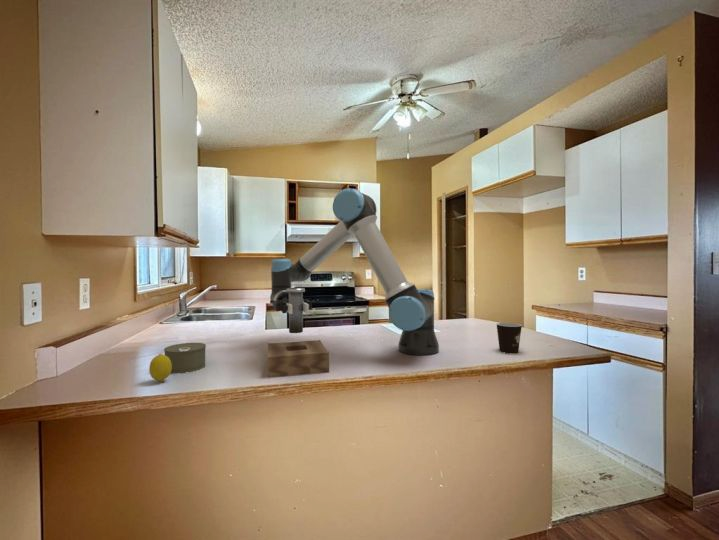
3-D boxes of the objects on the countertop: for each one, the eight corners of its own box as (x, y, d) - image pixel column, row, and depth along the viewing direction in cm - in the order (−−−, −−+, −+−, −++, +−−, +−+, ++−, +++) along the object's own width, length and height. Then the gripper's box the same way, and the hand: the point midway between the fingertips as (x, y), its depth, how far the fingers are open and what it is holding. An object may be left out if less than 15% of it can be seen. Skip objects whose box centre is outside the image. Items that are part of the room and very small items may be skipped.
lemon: (148, 381, 101) (148, 353, 101) (170, 377, 104) (170, 350, 104) (150, 386, 96) (150, 357, 96) (173, 382, 100) (172, 354, 99)
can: (207, 361, 121) (206, 341, 121) (205, 371, 110) (204, 349, 110) (167, 365, 117) (167, 344, 117) (161, 375, 106) (160, 353, 106)
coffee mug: (506, 355, 126) (506, 327, 126) (491, 349, 135) (491, 323, 134) (534, 352, 129) (534, 325, 129) (518, 347, 137) (518, 321, 137)
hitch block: (320, 357, 125) (320, 340, 125) (329, 372, 108) (328, 352, 108) (267, 361, 121) (267, 343, 121) (268, 377, 103) (267, 357, 103)
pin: (307, 330, 116) (307, 288, 116) (300, 334, 111) (300, 289, 110) (291, 329, 118) (291, 287, 117) (283, 333, 112) (283, 289, 112)
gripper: (309, 310, 134) (326, 319, 112) (261, 312, 127) (270, 323, 106) (308, 290, 134) (326, 295, 112) (261, 291, 127) (270, 298, 106)
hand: (299, 309), depth 109 cm, fingers closed on pin, 4 cm apart
